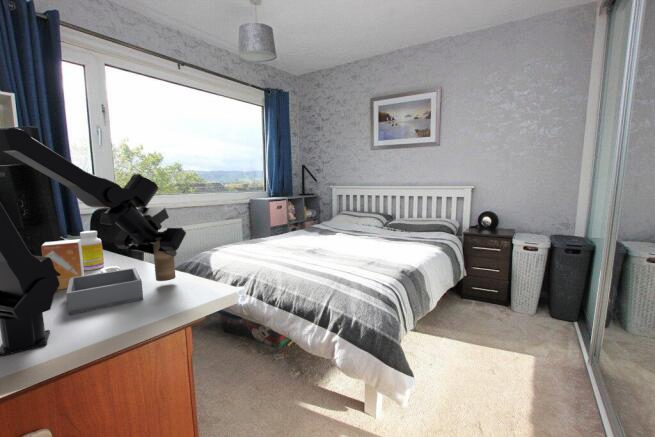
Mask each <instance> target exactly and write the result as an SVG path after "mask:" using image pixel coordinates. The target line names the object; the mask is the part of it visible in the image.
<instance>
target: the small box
mask: <svg viewBox="0 0 655 437" xmlns="http://www.w3.org/2000/svg"><path fill="white" fill-rule="evenodd" d="M41 255H42V256H41V257H49V258H50V259H51V260H52V262H53V265H54V268H55V270H56V271H57V272H58V273H60V274H61V275H60V276H57V277H58V279H59V282H60V286H59V287H58V289H57V291H58V290H64V289H65V290H67V289H68V284H69V280H70V278H72V277H79V276H85V270H84V267H83V258H82V248H81V239H80V238H79V239H78V238H77V239H66V240H65V239H64V240H57V241H56V240H55V241H45V242H44V243H43V244H42V245H41Z"/></svg>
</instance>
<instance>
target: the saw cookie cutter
mask: <svg viewBox="0 0 655 437" xmlns="http://www.w3.org/2000/svg"><path fill="white" fill-rule="evenodd" d="M117 270H121V267H119V266H106V267H103V268H100V270H99V273H104V272H111V271H117Z"/></svg>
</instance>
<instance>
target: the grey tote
mask: <svg viewBox="0 0 655 437" xmlns="http://www.w3.org/2000/svg"><path fill="white" fill-rule="evenodd" d="M65 295H66V302H67V308H68V315H75V314H80V313H84V312H88V311H94V310H99V309H105V308H108V307H109V308H110V307H113V306H118V305H123V304H128V303H133V302H137V301H142V300H144V291H143V281H142V279H141V277H140V274H139V272H138V270H137V269H136V267H131V268H124V269H120V270H112V271H108V272H104V273H101V272H99V273H93V274H92V273H91V274H87V275H85V274H84V276H79V277H72V278H70V280H69V284H68V288H66V294H65Z"/></svg>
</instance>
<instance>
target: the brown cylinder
mask: <svg viewBox="0 0 655 437" xmlns="http://www.w3.org/2000/svg"><path fill="white" fill-rule="evenodd" d="M159 248H160V242H159V241H157V242H156V243H153V251H154V255H153V260H154V261H153V262H154V273H155V281H157V282H166V281H172V280H174V279H176V278H177V277H176V268H175V263H176V262H175V256H171V255H168V254H165V253H162V252H160V251H158V250H159Z"/></svg>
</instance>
